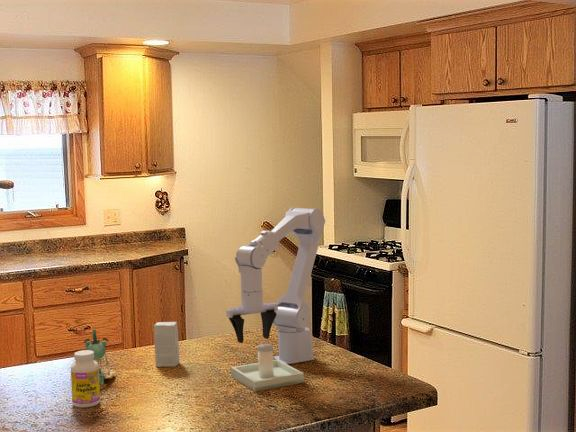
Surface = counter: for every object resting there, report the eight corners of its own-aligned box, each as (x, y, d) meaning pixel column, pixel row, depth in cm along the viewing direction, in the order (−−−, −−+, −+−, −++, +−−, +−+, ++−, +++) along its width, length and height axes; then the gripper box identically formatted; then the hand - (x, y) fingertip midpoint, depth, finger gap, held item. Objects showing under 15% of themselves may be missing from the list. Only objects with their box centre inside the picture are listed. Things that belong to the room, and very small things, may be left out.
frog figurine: (73, 392, 202) (70, 334, 202) (83, 378, 220) (80, 325, 220) (111, 389, 203) (108, 332, 204) (118, 376, 221) (115, 323, 221)
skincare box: (179, 362, 226) (178, 321, 225) (176, 366, 222) (174, 325, 220) (159, 362, 227) (157, 321, 225) (155, 366, 222) (153, 325, 221)
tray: (277, 368, 218) (277, 359, 218) (303, 382, 205) (303, 373, 204) (231, 376, 212) (230, 367, 211) (255, 391, 198) (254, 382, 198)
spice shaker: (266, 372, 211) (265, 342, 210) (277, 375, 208) (276, 345, 207) (255, 375, 208) (253, 346, 208) (265, 378, 205) (264, 348, 204)
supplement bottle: (72, 409, 189) (69, 357, 187) (72, 401, 195) (69, 350, 194) (101, 406, 190) (98, 354, 189) (99, 398, 197) (97, 347, 195)
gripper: (268, 284, 218) (270, 332, 219) (220, 291, 211) (222, 340, 212) (280, 289, 212) (282, 338, 213) (231, 295, 205) (233, 346, 206)
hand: (253, 340), depth 212 cm, fingers open, 7 cm apart
